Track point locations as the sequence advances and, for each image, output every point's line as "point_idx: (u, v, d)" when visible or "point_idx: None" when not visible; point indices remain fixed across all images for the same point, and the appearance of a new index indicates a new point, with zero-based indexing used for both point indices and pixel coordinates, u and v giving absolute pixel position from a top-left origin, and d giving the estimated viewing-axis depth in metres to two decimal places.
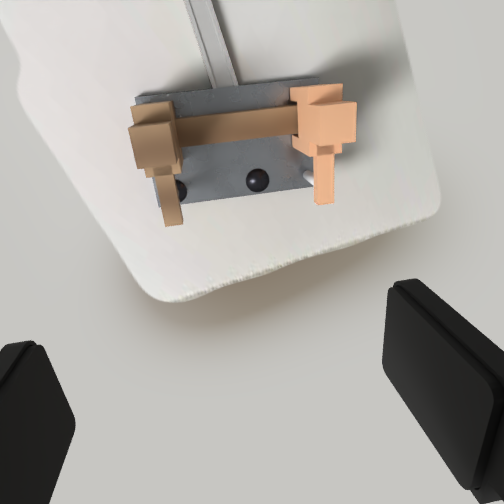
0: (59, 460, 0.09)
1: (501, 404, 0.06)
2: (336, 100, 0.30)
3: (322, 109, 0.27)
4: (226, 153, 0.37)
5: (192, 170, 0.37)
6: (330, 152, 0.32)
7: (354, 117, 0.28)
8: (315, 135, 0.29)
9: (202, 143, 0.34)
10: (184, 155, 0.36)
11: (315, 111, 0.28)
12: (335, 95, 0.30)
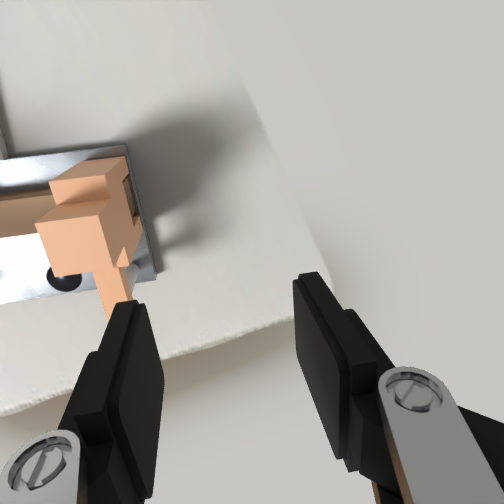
0: (160, 404, 0.10)
1: (348, 379, 0.07)
2: (101, 198, 0.20)
3: (41, 228, 0.17)
4: (9, 245, 0.27)
5: None
6: None
7: (100, 236, 0.18)
8: None
9: None
10: None
11: None
12: (97, 191, 0.20)
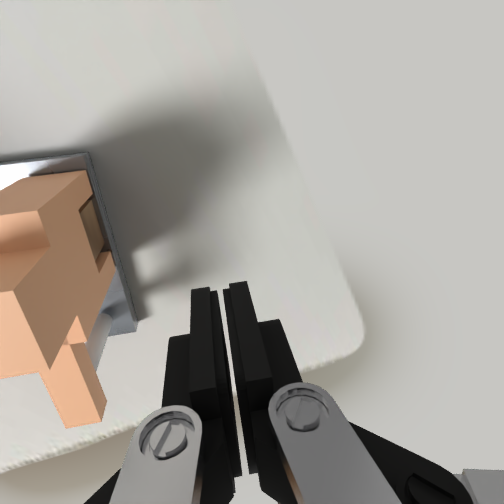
0: (231, 389, 0.10)
1: (246, 395, 0.07)
2: (34, 246, 0.12)
3: None
4: None
5: None
6: None
7: (22, 323, 0.10)
8: None
9: None
10: None
11: None
12: (27, 236, 0.12)
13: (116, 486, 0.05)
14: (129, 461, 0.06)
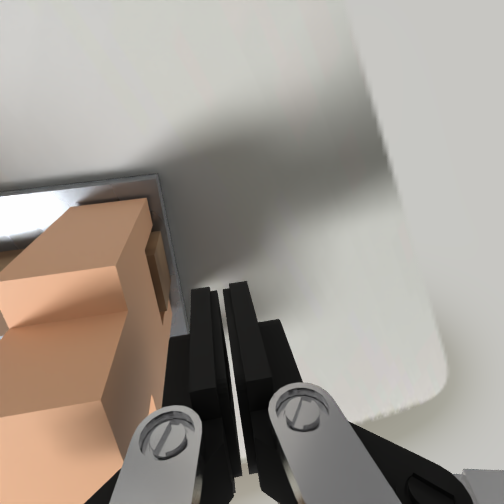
0: (231, 389, 0.10)
1: (246, 395, 0.07)
2: (107, 311, 0.09)
3: None
4: None
5: None
6: None
7: (107, 441, 0.07)
8: None
9: None
10: None
11: None
12: (99, 298, 0.09)
13: (116, 486, 0.05)
14: (129, 461, 0.06)
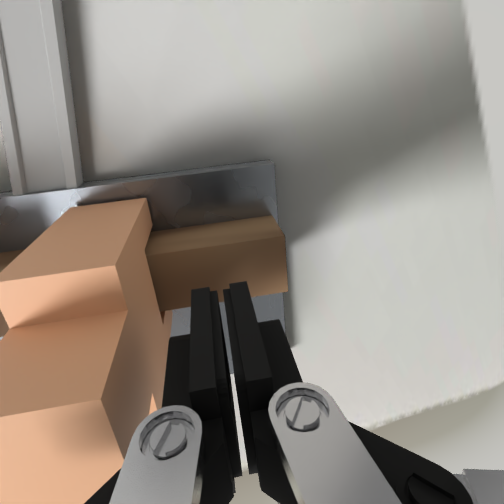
0: (231, 389, 0.10)
1: (246, 395, 0.07)
2: (107, 310, 0.09)
3: None
4: None
5: None
6: None
7: (108, 440, 0.07)
8: None
9: None
10: None
11: None
12: (99, 298, 0.09)
13: (116, 486, 0.05)
14: (129, 461, 0.06)
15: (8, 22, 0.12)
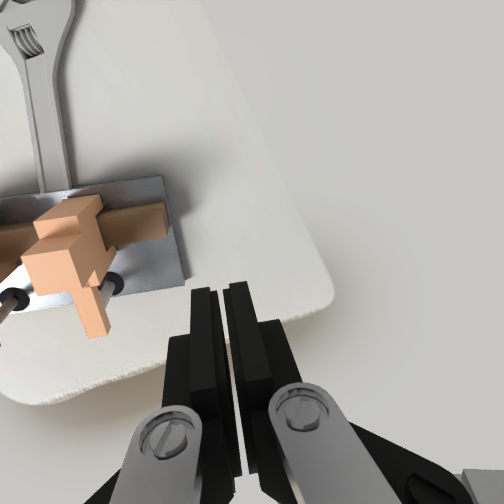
0: (231, 389, 0.10)
1: (246, 395, 0.07)
2: (74, 233, 0.26)
3: (25, 260, 0.23)
4: None
5: None
6: (85, 285, 0.27)
7: (71, 265, 0.23)
8: None
9: None
10: (18, 263, 0.32)
11: None
12: (71, 228, 0.25)
13: (116, 486, 0.05)
14: (129, 461, 0.06)
15: (40, 131, 0.29)
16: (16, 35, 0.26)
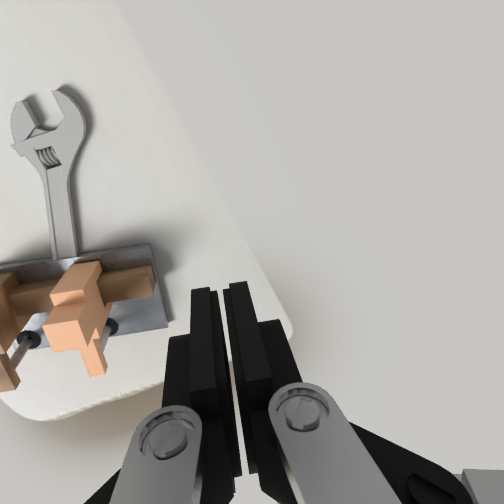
0: (231, 389, 0.10)
1: (246, 395, 0.07)
2: (81, 301, 0.33)
3: (45, 328, 0.31)
4: None
5: (42, 322, 0.41)
6: None
7: (79, 330, 0.31)
8: None
9: (38, 312, 0.38)
10: None
11: None
12: (78, 298, 0.33)
13: (116, 486, 0.05)
14: (129, 461, 0.06)
15: (55, 219, 0.37)
16: (40, 153, 0.34)
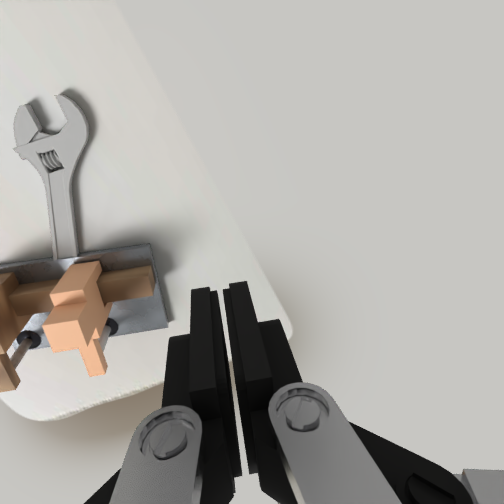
0: (231, 389, 0.10)
1: (246, 395, 0.07)
2: (81, 301, 0.33)
3: (45, 327, 0.31)
4: None
5: (42, 322, 0.41)
6: None
7: (79, 330, 0.31)
8: None
9: (38, 312, 0.38)
10: None
11: None
12: (78, 298, 0.33)
13: (116, 486, 0.05)
14: (129, 461, 0.06)
15: (57, 222, 0.37)
16: (43, 157, 0.34)
